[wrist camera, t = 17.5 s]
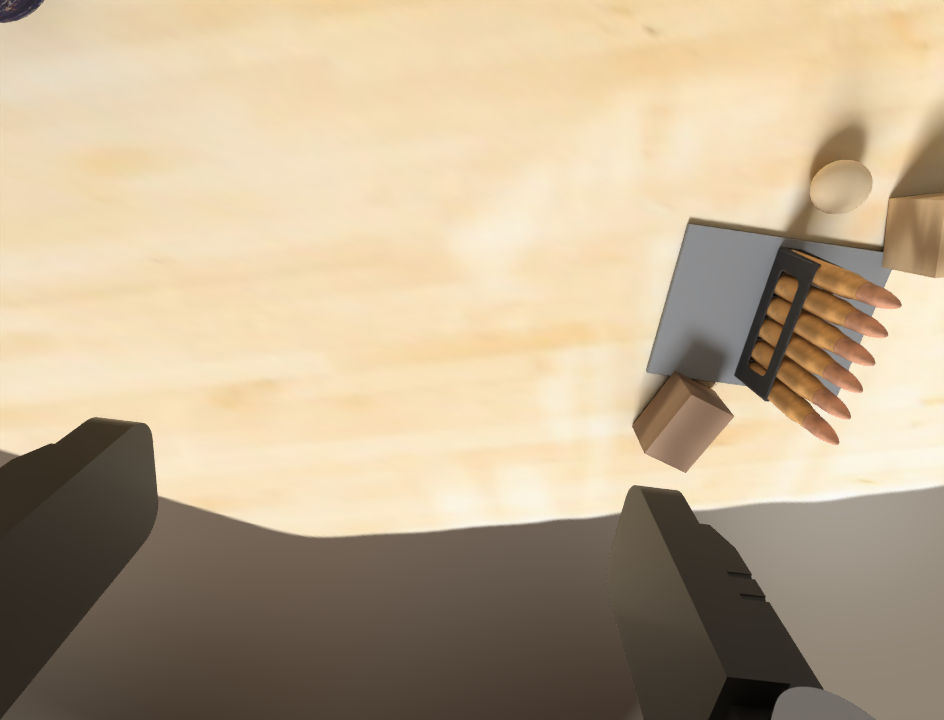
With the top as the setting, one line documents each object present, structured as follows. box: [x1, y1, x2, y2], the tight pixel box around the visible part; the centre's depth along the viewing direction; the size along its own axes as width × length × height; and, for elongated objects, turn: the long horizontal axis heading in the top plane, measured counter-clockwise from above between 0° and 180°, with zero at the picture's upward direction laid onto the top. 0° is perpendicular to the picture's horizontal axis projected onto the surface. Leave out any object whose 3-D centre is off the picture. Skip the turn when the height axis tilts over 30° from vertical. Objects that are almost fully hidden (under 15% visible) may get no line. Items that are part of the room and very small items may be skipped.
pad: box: [646, 223, 892, 396], centre depth 43 cm, size 12×16×1 cm
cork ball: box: [810, 160, 872, 214], centre depth 38 cm, size 4×4×4 cm
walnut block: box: [632, 371, 734, 473], centre depth 45 cm, size 4×6×4 cm, turn 152°
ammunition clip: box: [734, 246, 902, 445], centre depth 38 cm, size 11×2×12 cm, turn 172°
